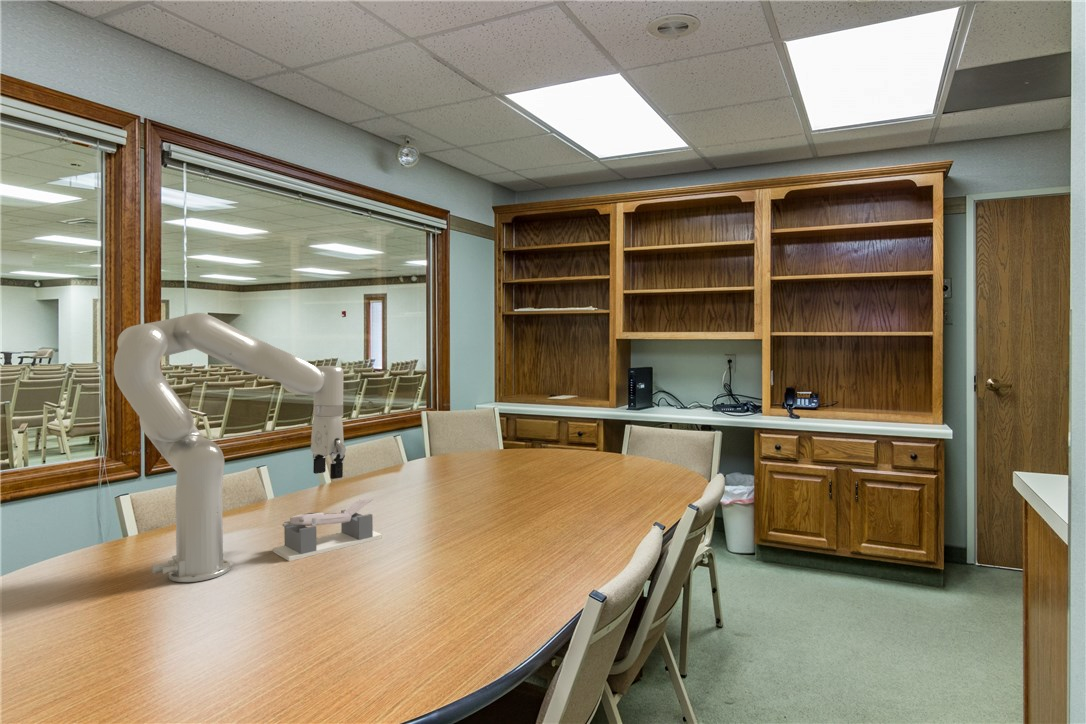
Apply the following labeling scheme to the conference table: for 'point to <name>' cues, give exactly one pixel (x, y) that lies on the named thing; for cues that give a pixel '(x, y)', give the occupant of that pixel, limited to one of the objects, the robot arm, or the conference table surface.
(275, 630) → the conference table surface
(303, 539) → the cradle stand
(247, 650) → the conference table surface
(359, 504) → the mobile phone
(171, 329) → the robot arm
